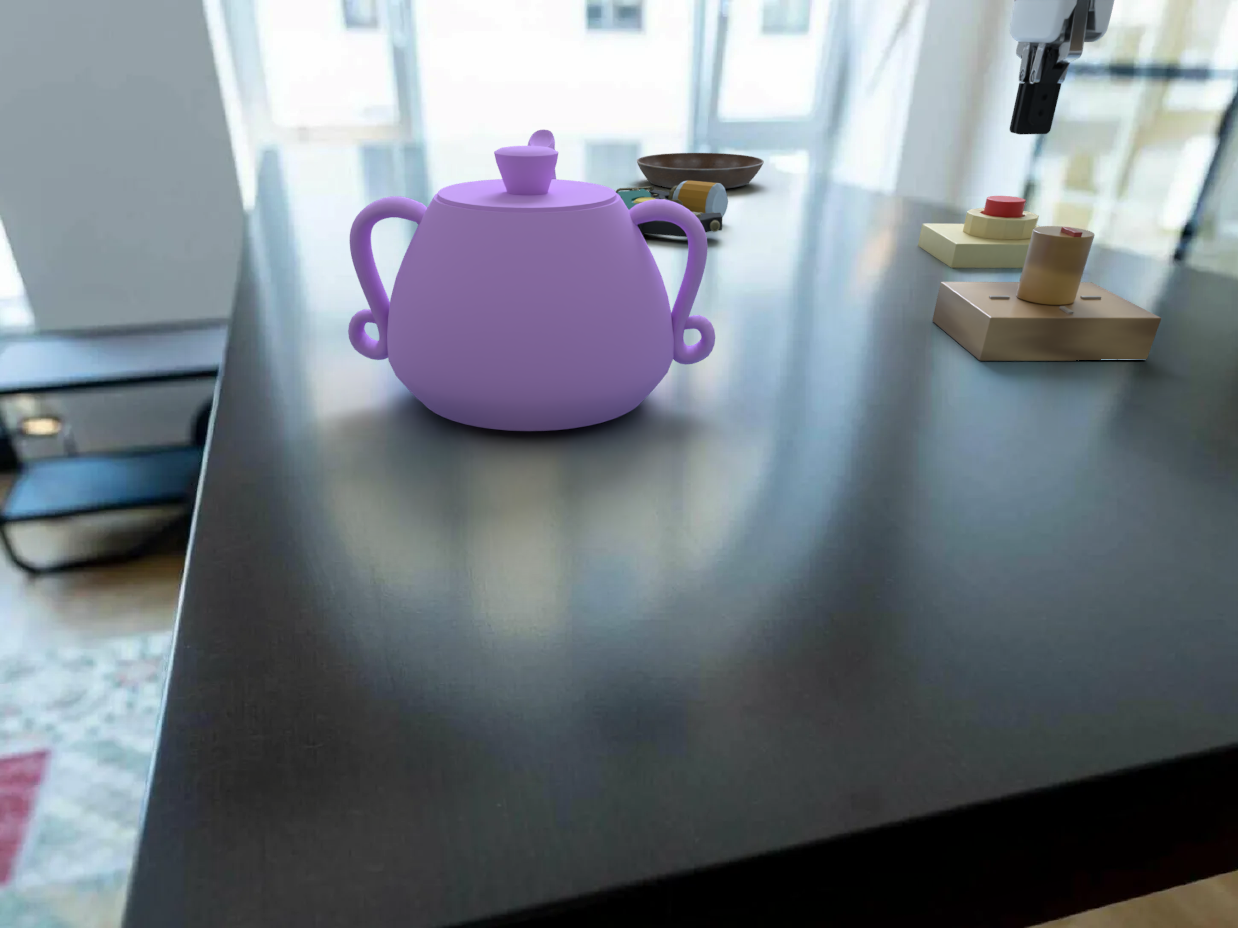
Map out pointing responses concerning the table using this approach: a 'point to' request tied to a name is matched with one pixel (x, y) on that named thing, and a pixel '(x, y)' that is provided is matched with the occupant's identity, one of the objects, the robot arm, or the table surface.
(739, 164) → the plant saucer
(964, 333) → the panel
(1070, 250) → the dial knob
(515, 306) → the purple sugar bowl
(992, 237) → the button box
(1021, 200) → the button
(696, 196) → the spray gun
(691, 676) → the table surface
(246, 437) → the table surface
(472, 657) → the table surface
